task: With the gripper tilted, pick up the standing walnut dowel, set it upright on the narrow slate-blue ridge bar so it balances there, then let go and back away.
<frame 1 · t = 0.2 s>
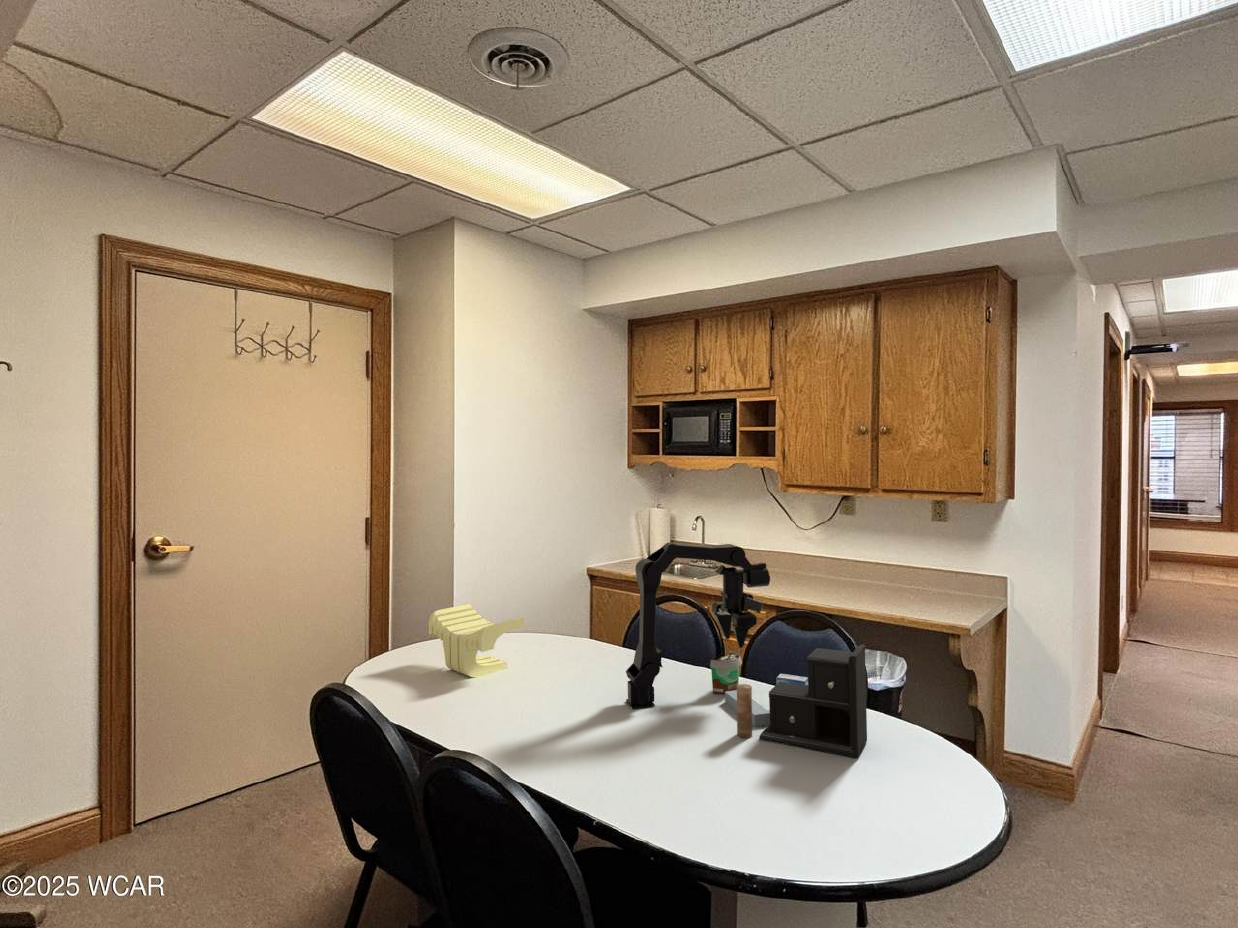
hand: (734, 642, 203), 15 cm above the table, tool pointing down, fingers open, 9 cm apart
ridge bar: (747, 712, 188), on the table
walnut dowel: (744, 735, 174), on the table
black desk organizer: (812, 742, 170), on the table
food container: (730, 691, 206), on the table
medicine box: (792, 709, 191), on the table
slatted curved stool: (476, 670, 229), on the table
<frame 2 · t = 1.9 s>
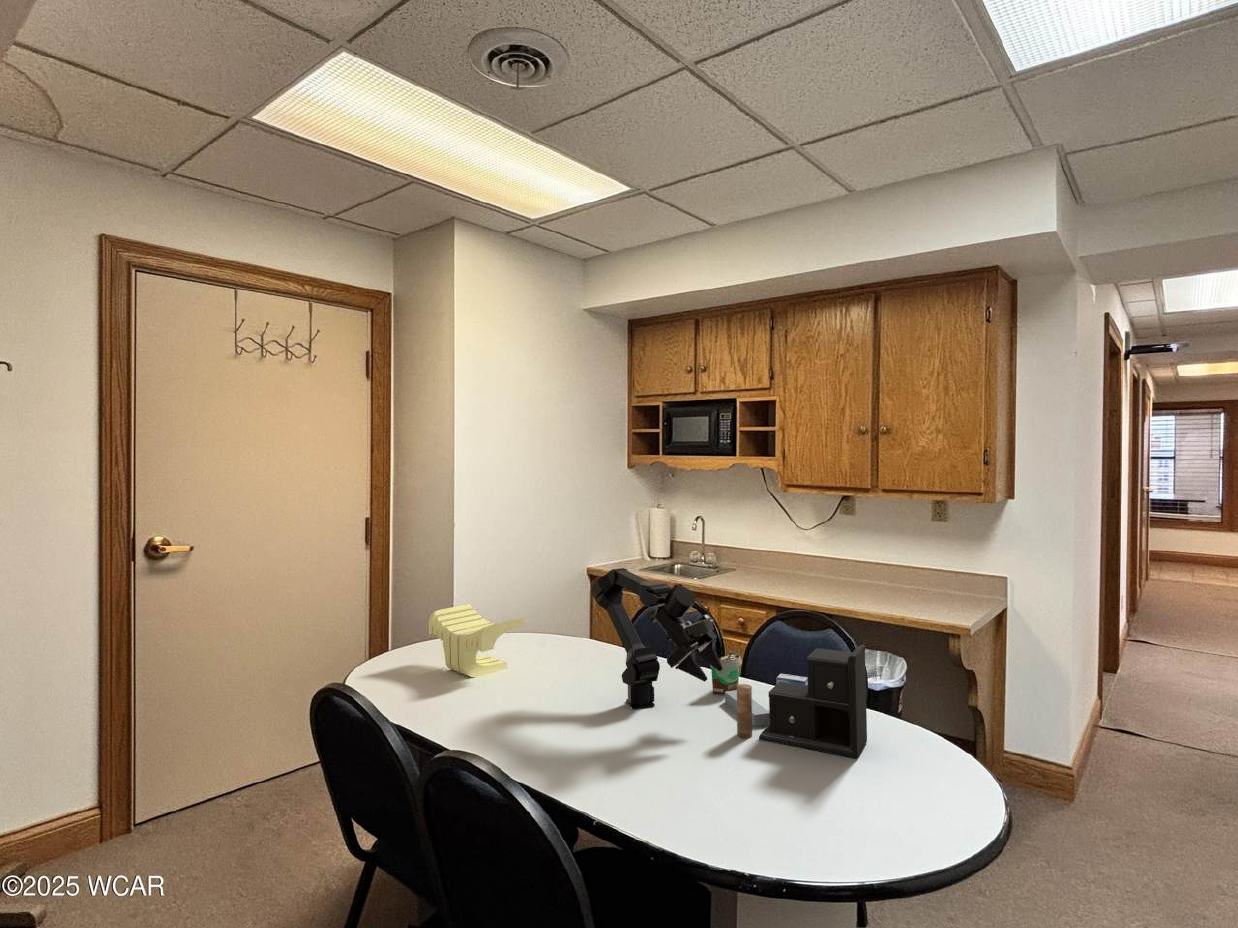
hand: (714, 675, 178), 13 cm above the table, tool tilted 45°, fingers open, 9 cm apart
nothing on the table moved.
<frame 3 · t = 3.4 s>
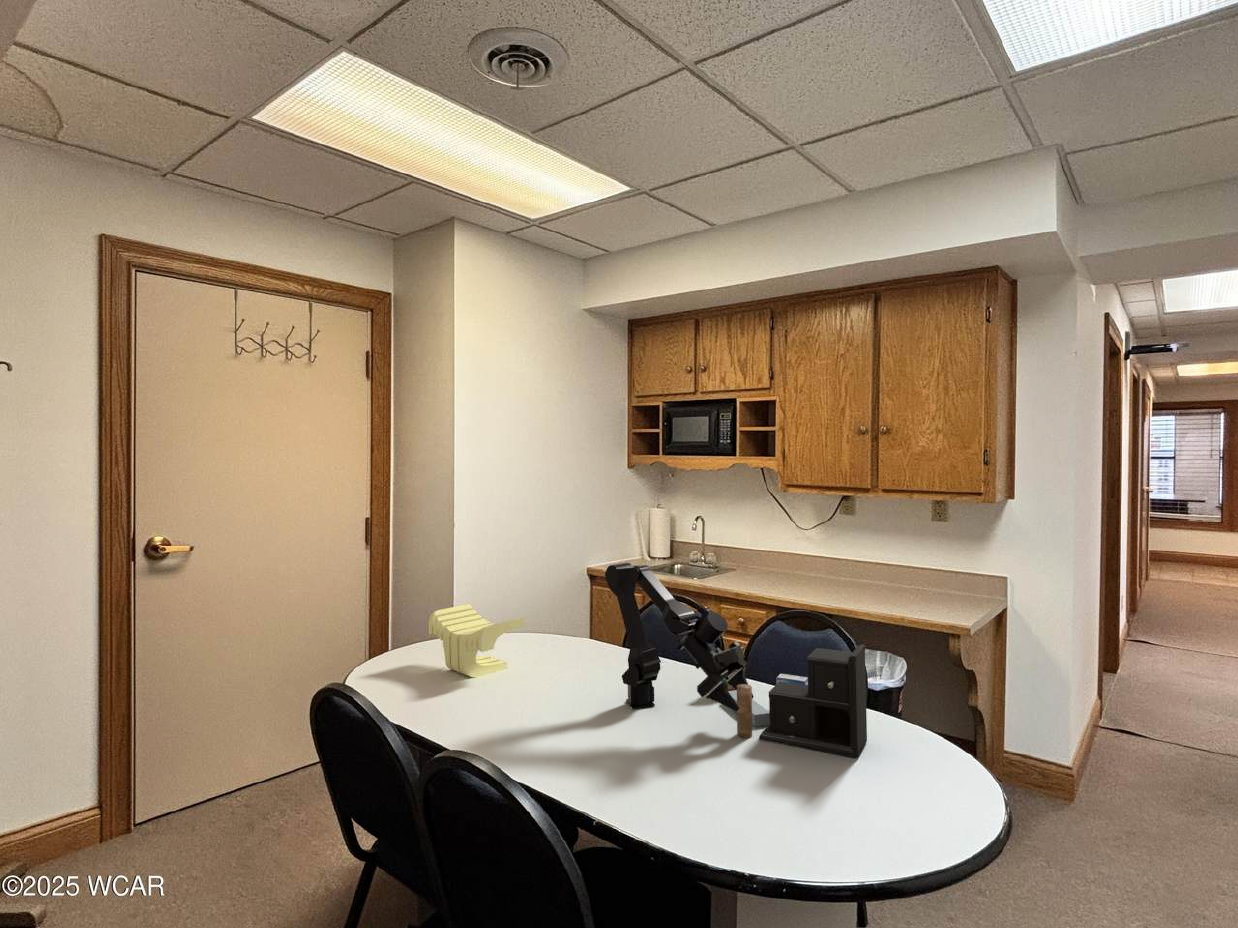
hand: (745, 704, 174), 8 cm above the table, tool tilted 45°, fingers open, 9 cm apart
nothing on the table moved.
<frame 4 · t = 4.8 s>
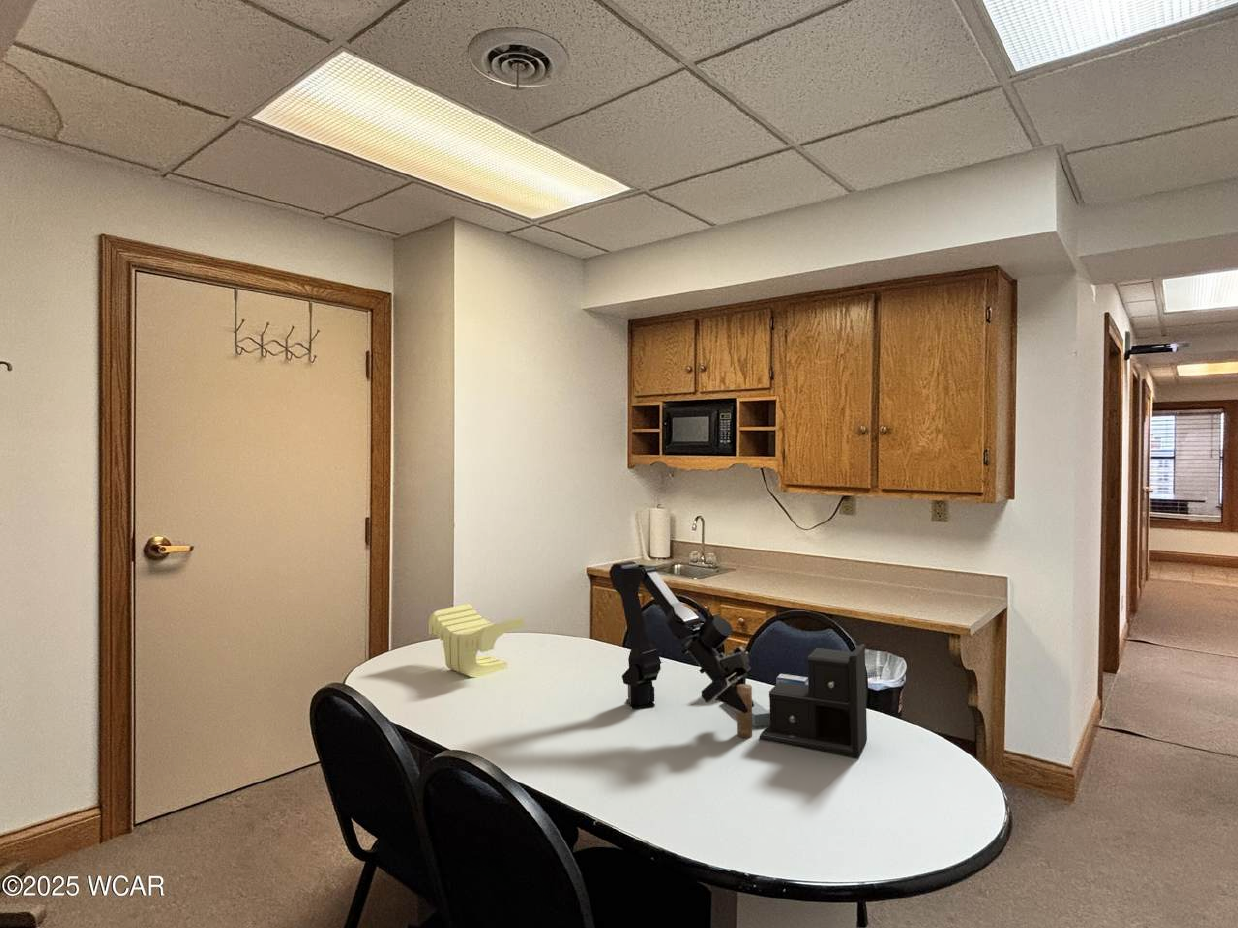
hand: (749, 709, 173), 7 cm above the table, tool tilted 45°, fingers closed on walnut dowel, 4 cm apart
walnut dowel: (744, 735, 174), on the table, touching gripper
everything else where it was.
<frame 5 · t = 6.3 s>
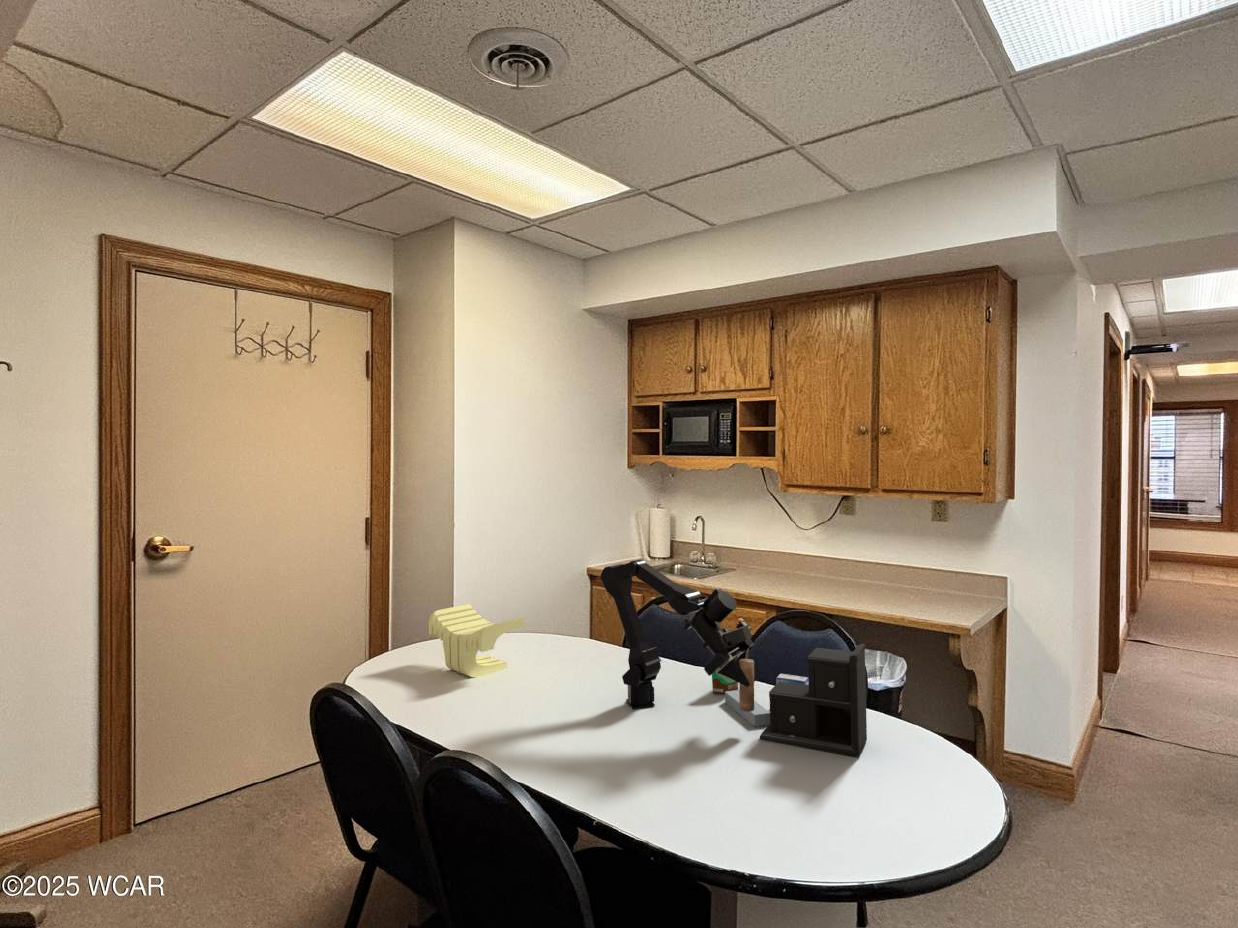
hand: (751, 683, 175), 12 cm above the table, tool tilted 45°, fingers closed on walnut dowel, 4 cm apart
walnut dowel: (746, 708, 176), point 6 cm above the table, touching gripper
everything else where it was.
when the fingers open (11 cm above the table, at t = 7.9 s): walnut dowel drops 1 cm, resting on ridge bar.
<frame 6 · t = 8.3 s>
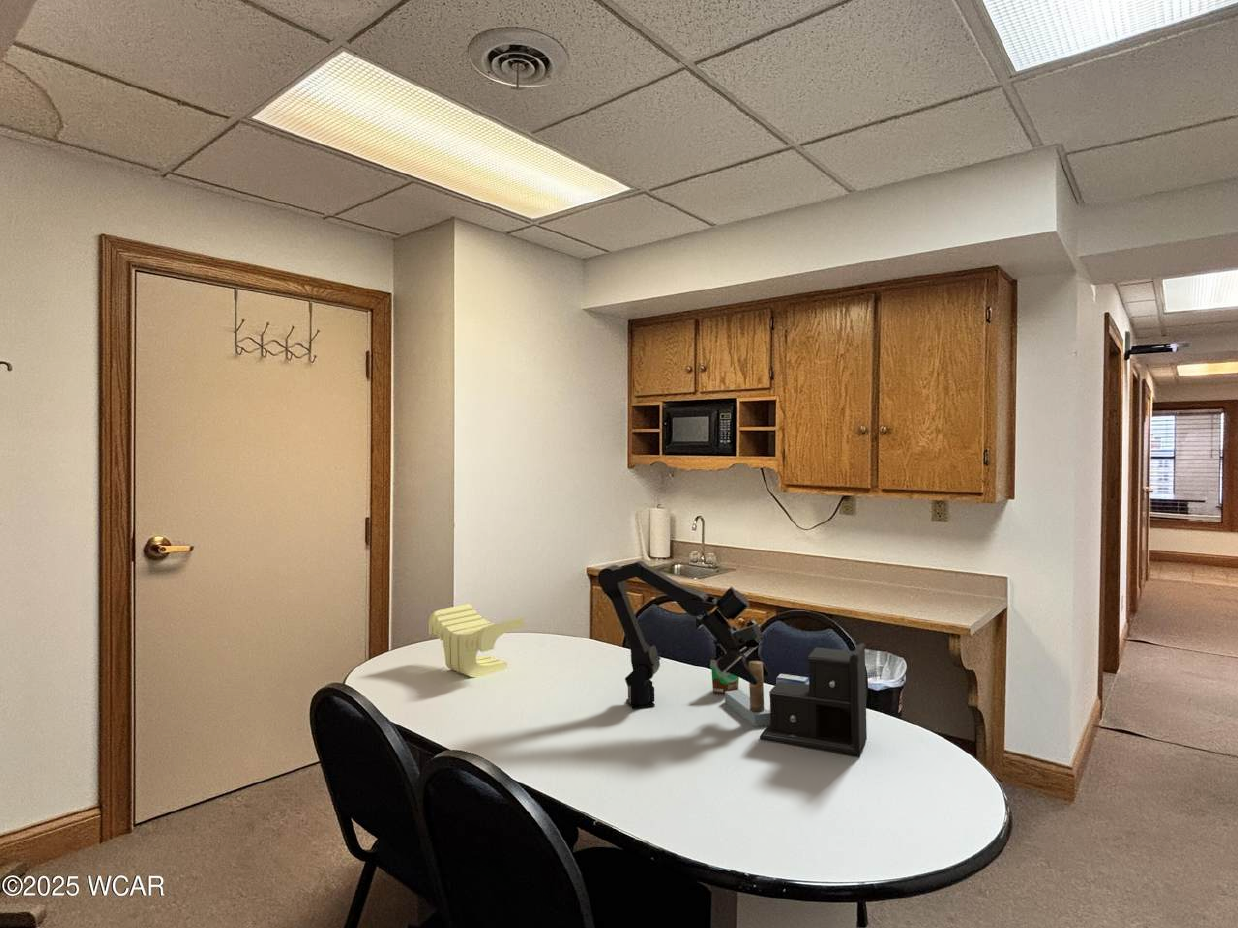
hand: (762, 679, 182), 11 cm above the table, tool tilted 45°, fingers open, 8 cm apart
walnut dowel: (757, 709, 183), point 3 cm above the table, touching ridge bar
everything else where it was.
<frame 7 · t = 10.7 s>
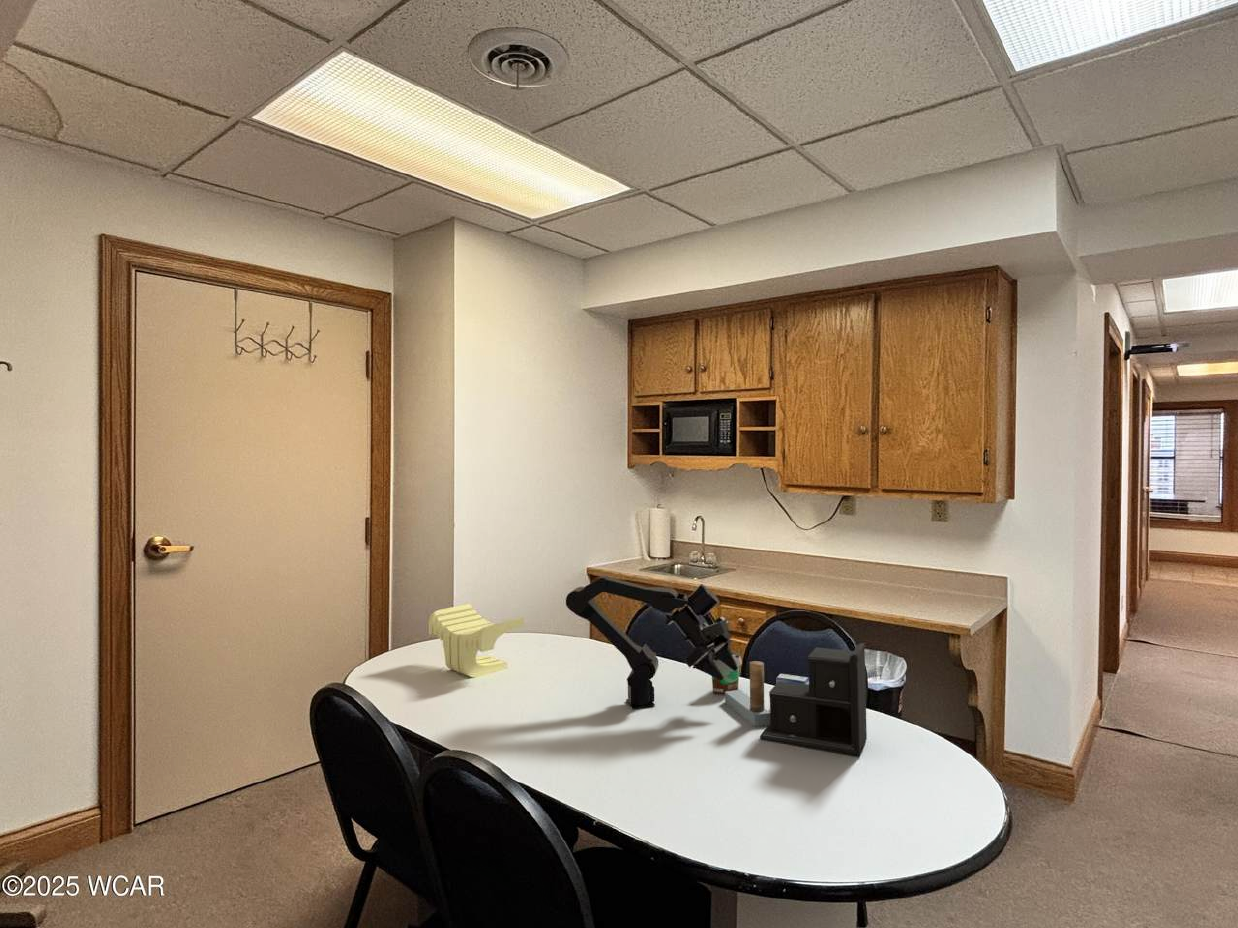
hand: (729, 674, 186), 11 cm above the table, tool tilted 45°, fingers open, 9 cm apart
nothing on the table moved.
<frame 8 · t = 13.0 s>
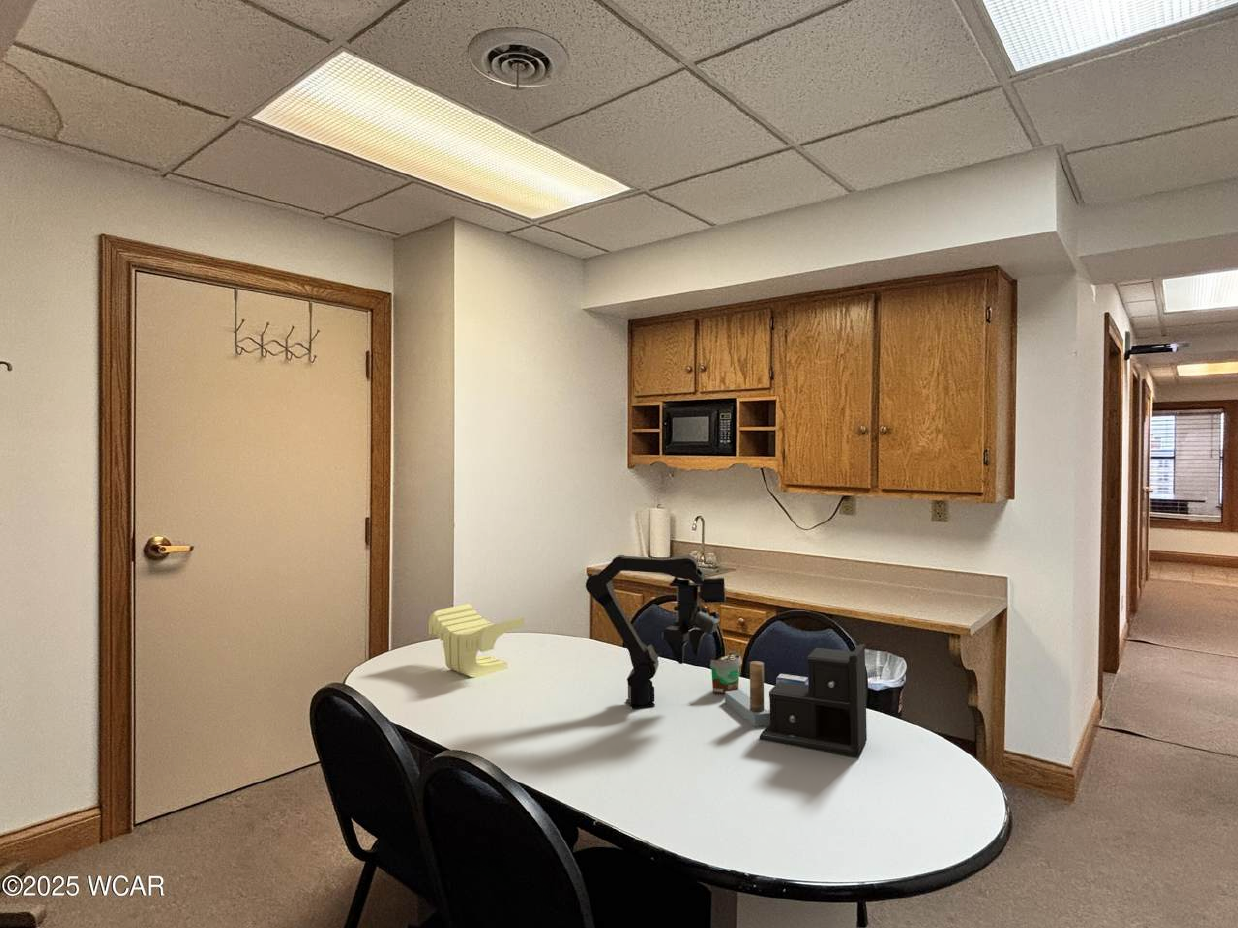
hand: (688, 659, 193), 13 cm above the table, tool pointing down, fingers open, 9 cm apart
nothing on the table moved.
at the end: walnut dowel inside the target area (5.5 cm from its centre), point 3.0 cm above the table; walnut dowel tilted 0°; walnut dowel touching ridge bar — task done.
